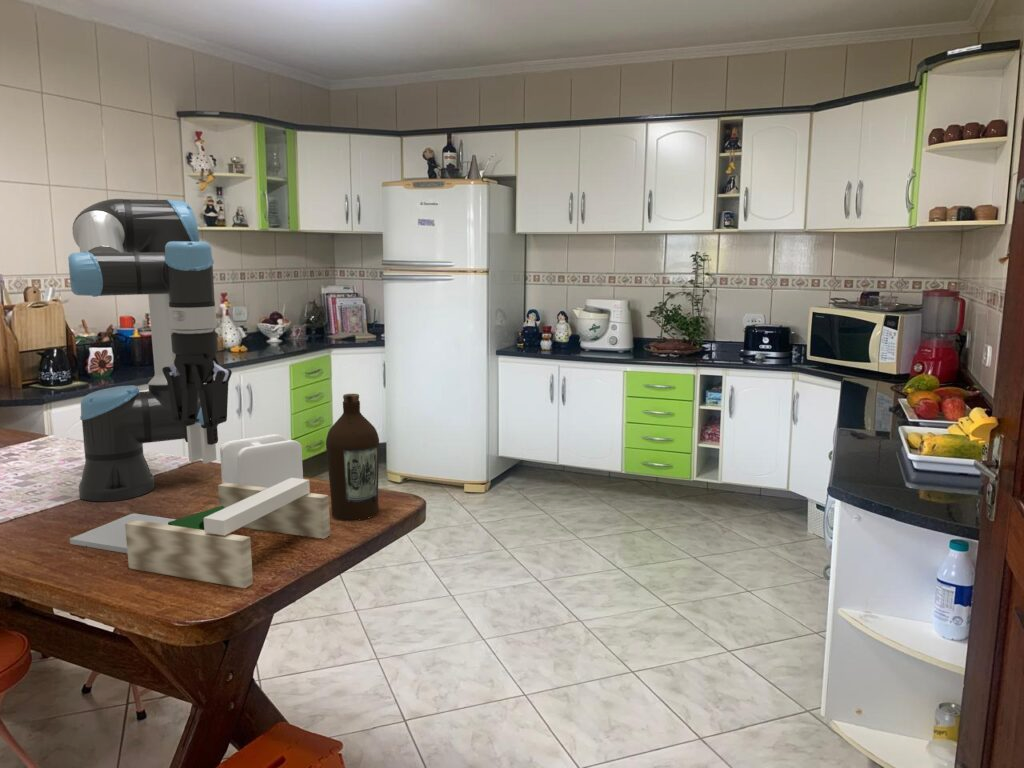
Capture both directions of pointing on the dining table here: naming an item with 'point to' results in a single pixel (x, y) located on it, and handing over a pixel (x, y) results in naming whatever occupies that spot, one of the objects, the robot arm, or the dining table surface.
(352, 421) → the olive oil
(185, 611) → the dining table surface
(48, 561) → the dining table surface
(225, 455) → the cable organizer
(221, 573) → the stand
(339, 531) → the dining table surface
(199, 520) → the clamp
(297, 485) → the strap bar
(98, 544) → the grey pad
